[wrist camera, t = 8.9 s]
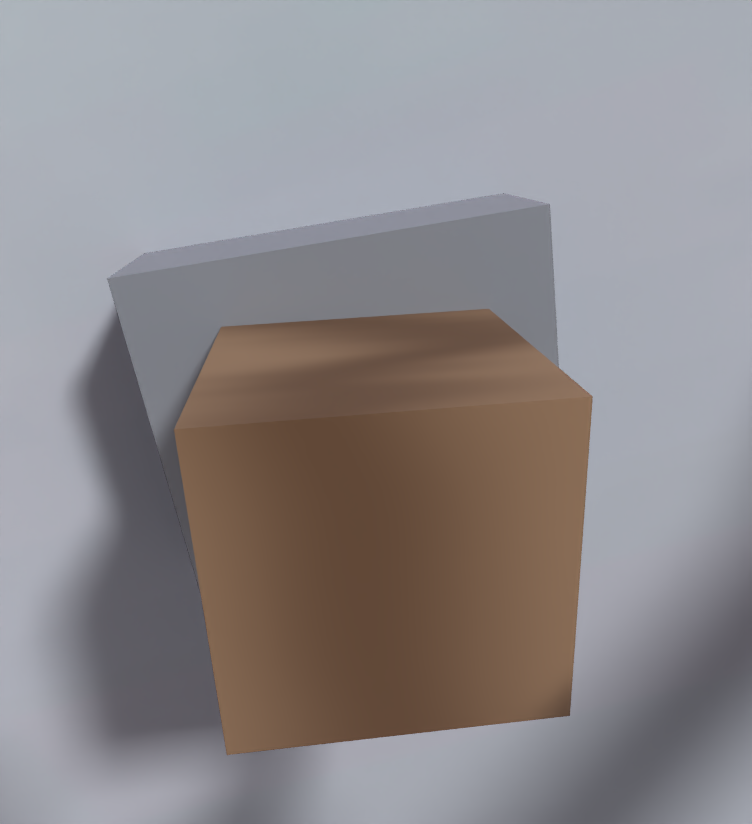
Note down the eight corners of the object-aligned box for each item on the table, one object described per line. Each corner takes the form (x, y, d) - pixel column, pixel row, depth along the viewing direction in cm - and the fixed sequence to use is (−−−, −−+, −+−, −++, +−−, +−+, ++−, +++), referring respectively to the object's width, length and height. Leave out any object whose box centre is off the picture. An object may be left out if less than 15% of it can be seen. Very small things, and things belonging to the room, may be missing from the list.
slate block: (499, 192, 16) (550, 203, 12) (523, 498, 19) (569, 572, 15) (148, 250, 15) (107, 278, 12) (230, 552, 18) (214, 640, 15)
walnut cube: (488, 308, 13) (592, 396, 8) (485, 538, 15) (570, 716, 10) (221, 326, 13) (173, 429, 8) (251, 560, 14) (226, 754, 10)
